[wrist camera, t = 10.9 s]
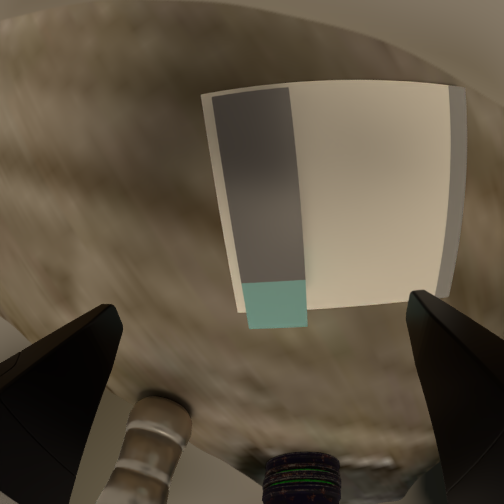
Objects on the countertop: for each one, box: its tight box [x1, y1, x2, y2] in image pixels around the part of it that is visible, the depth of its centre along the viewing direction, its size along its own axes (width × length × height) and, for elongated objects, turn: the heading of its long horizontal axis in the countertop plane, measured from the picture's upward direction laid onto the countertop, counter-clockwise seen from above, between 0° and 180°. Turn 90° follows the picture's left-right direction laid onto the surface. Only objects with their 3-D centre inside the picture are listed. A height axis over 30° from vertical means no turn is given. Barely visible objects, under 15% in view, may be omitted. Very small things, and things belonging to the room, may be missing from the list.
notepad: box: [201, 80, 467, 313], centre depth 18 cm, size 15×14×1 cm
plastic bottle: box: [96, 396, 192, 504], centre depth 21 cm, size 6×7×20 cm
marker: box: [212, 87, 307, 329], centre depth 16 cm, size 3×12×4 cm, turn 8°
